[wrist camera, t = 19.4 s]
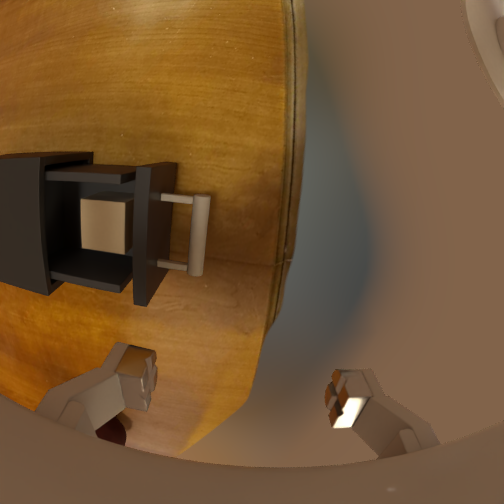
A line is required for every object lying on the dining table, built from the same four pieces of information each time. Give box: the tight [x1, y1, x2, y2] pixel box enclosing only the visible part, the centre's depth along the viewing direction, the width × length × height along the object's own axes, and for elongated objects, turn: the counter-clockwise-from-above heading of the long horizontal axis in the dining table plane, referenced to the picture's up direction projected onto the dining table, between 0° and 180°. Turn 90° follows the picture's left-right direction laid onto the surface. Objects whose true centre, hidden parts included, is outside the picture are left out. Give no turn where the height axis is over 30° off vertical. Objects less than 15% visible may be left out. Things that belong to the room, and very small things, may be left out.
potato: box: [95, 416, 126, 446], centre depth 36 cm, size 9×12×9 cm
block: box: [81, 191, 134, 254], centre depth 25 cm, size 5×5×5 cm
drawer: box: [44, 162, 211, 307], centre depth 24 cm, size 18×11×8 cm, turn 82°
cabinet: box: [0, 152, 93, 296], centre depth 24 cm, size 15×13×10 cm
